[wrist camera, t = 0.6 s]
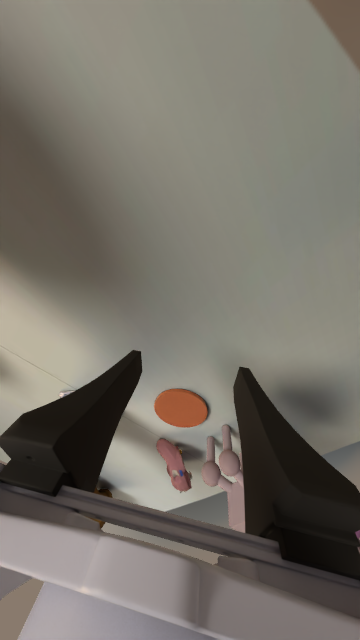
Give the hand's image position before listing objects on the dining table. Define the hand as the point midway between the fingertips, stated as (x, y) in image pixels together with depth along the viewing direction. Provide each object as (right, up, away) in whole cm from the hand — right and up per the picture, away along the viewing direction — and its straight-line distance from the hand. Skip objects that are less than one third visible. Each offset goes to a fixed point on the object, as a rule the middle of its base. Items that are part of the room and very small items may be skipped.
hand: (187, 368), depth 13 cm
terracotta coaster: (0, -11, +17) cm, 20 cm away
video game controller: (-1, -23, +23) cm, 33 cm away
